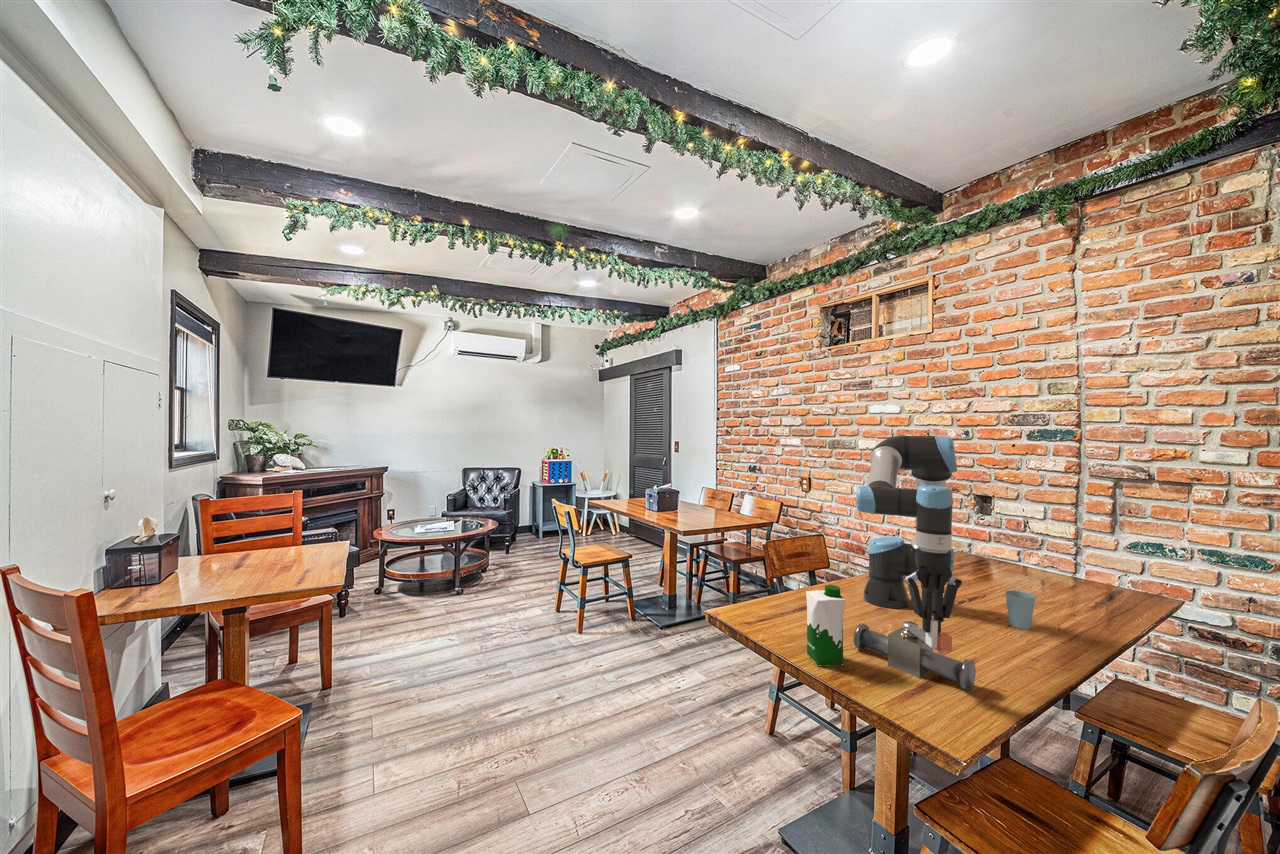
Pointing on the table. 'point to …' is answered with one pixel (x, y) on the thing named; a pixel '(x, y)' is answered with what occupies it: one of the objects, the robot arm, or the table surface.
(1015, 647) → the table surface
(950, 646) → the lever
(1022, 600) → the cup
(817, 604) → the milk carton
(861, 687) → the table surface
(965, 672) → the valve body
